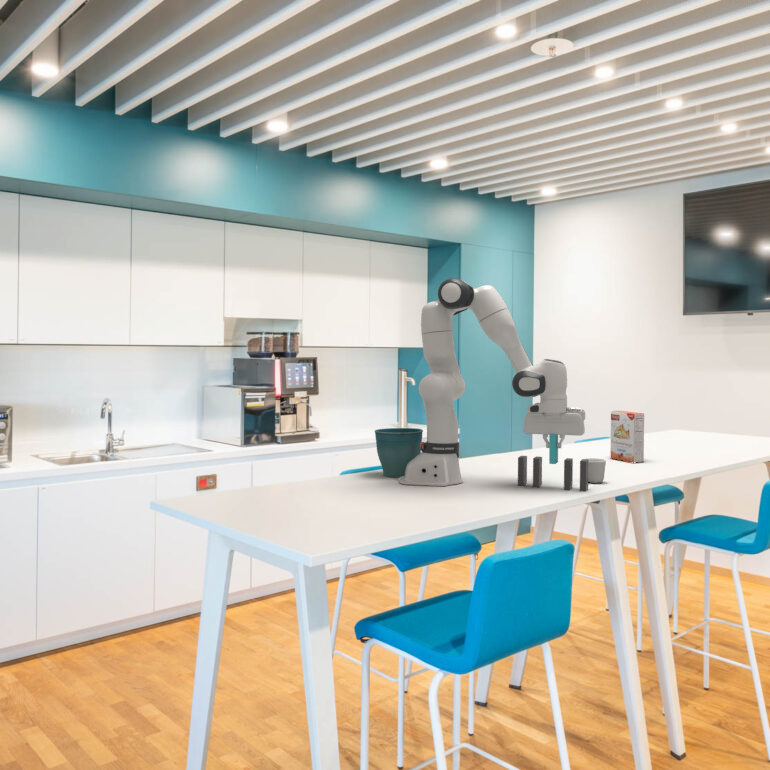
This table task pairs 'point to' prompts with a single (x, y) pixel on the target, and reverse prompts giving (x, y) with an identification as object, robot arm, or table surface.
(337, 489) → the table surface
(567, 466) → the domino
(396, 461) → the flower pot
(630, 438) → the cracker box
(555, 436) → the domino teal
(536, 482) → the domino
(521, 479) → the domino
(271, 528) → the table surface
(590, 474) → the cup
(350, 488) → the table surface
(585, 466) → the domino
